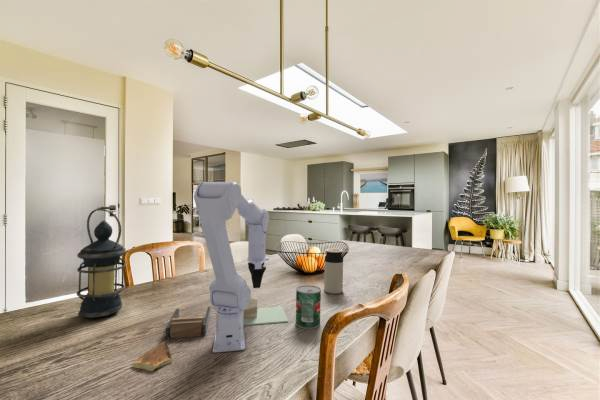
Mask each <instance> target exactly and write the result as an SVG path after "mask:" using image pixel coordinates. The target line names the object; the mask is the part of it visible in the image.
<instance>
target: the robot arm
mask: <svg viewBox="0 0 600 400" xmlns="http://www.w3.org/2000/svg"><path fill="white" fill-rule="evenodd" d="M241 188H242V187H241V186H240V185H239V184H238V182H236V181H209V182H208V181H201V182H199V183H198V184H197V186H196V187H195V191H194V194H193V199H194V203H195V206H196V210H197V213H198V217H199V218H200V225H201V226H200V227H201V229H202V232H203V236H204V239H205V243H206V247H207V251H208V255H209V258H210V261H211V265H212V269H213V273H214V279H212V280H211V283H210V284H209V287H208V289H209V301H210V304H211V305H212V306H213V309H214V310H215V311H216V313H215V314H216V317H215V318H216V321H215V325H216V326H215V334H214V341H213V347H212V353H224V352H225V353H226V352H235V351H243V350H245V349H246V344H245V343H246V342H245V341H246V339H245V331H244V326H243V314H244V309H245V308H246V307H247V306H248V304H249V302H250V298H251V295H252V293H251V289H250V287H249V285H248V283H247V279H245V278H244V277H242V276H241V275H239V274H238V273H237V269H236V266H235V265H236V264H235V261H234V258H233V257H234V256H233V253H232V252H233V251H232V247H231V243H230V240H229V236H228V231H227V228H226V227H227V226H226V221H228V220H230V219H232V218H233V215H234V214H235V212H236V210H237V213H238V215H240V216H241V217H242V218H243V219H244V220H245V224H246V226H248V245H247V247H248V248H247V249H248V250H247V252H248V253H247V254H248V255H247V266H248V267H247V268H248V270H249V272H250V276H251V282H252V287H253V289H261V284H262V280H263V278H264V277H263V276H264V274H265V271H266V270H267V266H265V262H266V261H270V259H269V258H270V257H268V256H266V248H267V247H266V245H267V241H266V239H267V238H266V237H267V231H268V228H269V227H268V226H269V222H270V214H269V212H268V210H266V209H263V208H260V206H259V205H257V204H256V203H255V202H254V200H253V199H250V198H248V199H246V198H245V197H244V195H243V194H242V189H241Z"/></svg>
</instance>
